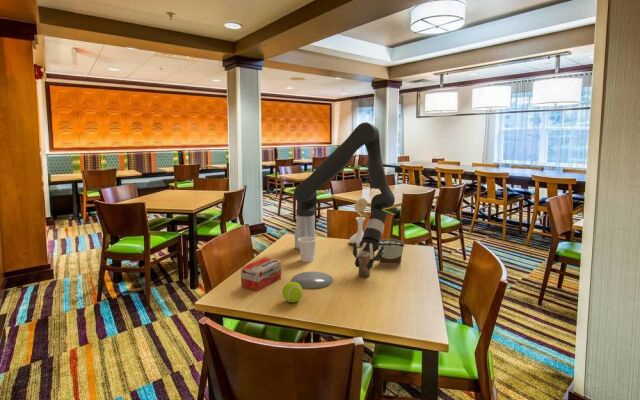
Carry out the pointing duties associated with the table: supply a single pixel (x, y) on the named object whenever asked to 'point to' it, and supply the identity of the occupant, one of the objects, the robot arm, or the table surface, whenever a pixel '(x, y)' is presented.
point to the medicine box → (261, 274)
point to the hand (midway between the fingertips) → (362, 267)
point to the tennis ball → (292, 292)
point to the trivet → (313, 280)
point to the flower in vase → (359, 220)
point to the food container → (391, 251)
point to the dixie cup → (307, 248)
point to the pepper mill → (364, 264)
